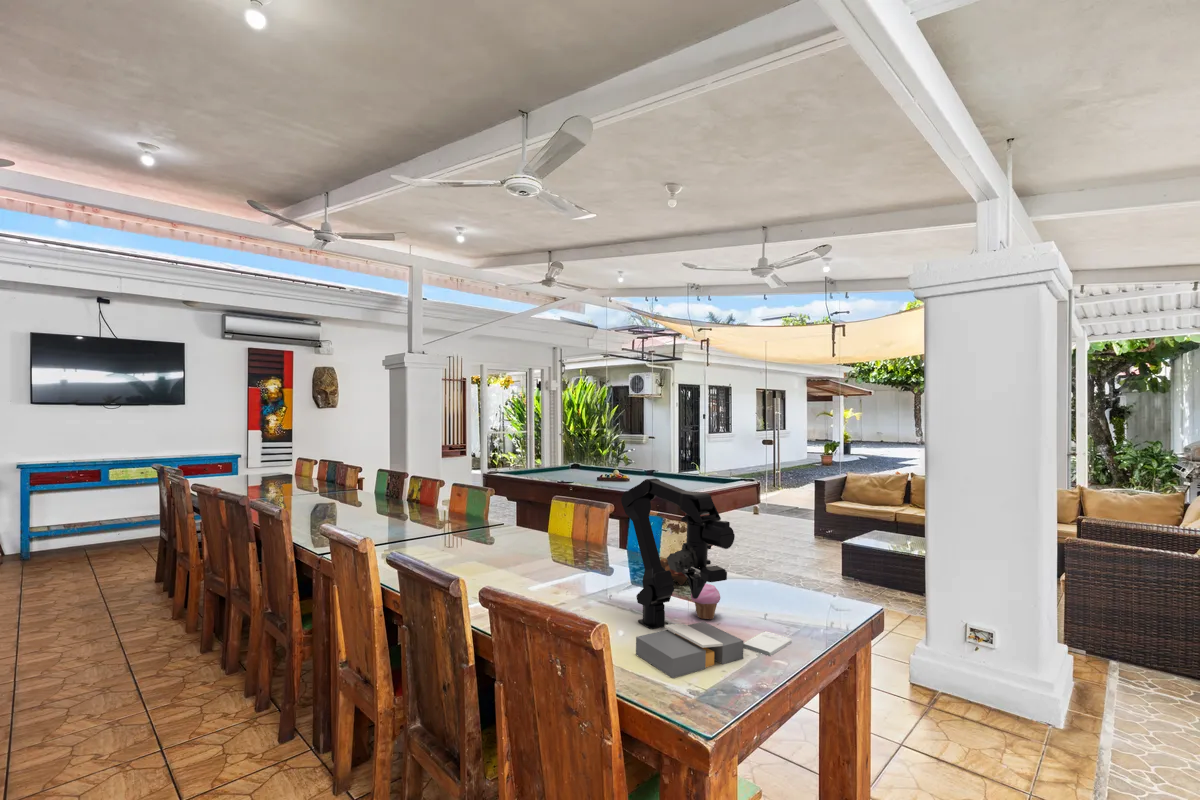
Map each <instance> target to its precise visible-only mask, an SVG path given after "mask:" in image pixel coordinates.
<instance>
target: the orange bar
mask: <svg viewBox="0 0 1200 800" xmlns="http://www.w3.org/2000/svg"><path fill="white" fill-rule="evenodd" d="M675 634H676V633H675ZM676 635H678V634H676ZM678 636H680V635H678ZM680 637H682V636H680ZM682 638H684V637H682ZM684 639H685V638H684ZM686 640H687V639H686ZM688 641H689V640H688ZM689 642H691V641H689ZM691 643H693V642H691ZM693 644H695V643H693ZM695 645H697V644H695ZM697 646H698V645H697ZM699 647H700V646H699ZM700 648H702V647H700ZM702 649H704V650H706V662H705V668H707V667H712V666H714V665H715V660H714V651H712V650H710V649H708V648H707V647H705V648H702Z"/></svg>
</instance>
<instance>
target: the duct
mask: <svg viewBox="0 0 1200 800" xmlns="http://www.w3.org/2000/svg"><path fill="white" fill-rule="evenodd" d="M686 625H687V626H689V627H691V628H693V629H695V630H697V631H699V632H701V633H703V634H705V635H707V636H709V637H711V638H713V639H715V640H717V641H719V642H721V643H723V646H717V647H707V648H708V649H710V650H712V651H714V661H716V662H717V663H720V664H721V665H724V664H725V665H726V664H728V663H731V662H736V661H739V660H742V659H744V648H743V644H744V642H745V641H744V640H743V639H741V638H739V637H737V636H735V635H733V634H731V633H729V632H727V631H726V630H725V631H724V630H723V629H721V628H719V627H717V626H714V625H712V624H710V623H708V622H706V621H700V622H694V623H691V624H686ZM635 655H636V656H637V655H638V656H637V657H639V658H641V659H642V660H643V661H645V662H647V663H648V664H650V665H651V664H652V665H651V666H653V667H655V668H656V669H658V670H659V671H661V672H662V673H664V674H666V675H667V676H668V677H670V678H672V679H674V678H677V677H681V676H685V675H688V674H692V673H695V672H701V671H703V670H706V667H705V662H706V650H704V649H702V648H700V647H699V646H697V645H695V644H693V643H691V642H689V641H688V640H686V639H684V638H682V637H680V636H678V635H676V634H675V633H674V632H673V631H671V630H669V629H665V630H661V631H660V630H659V631H656V632H652V633H647V634H642V635H637V636H636V637H635Z"/></svg>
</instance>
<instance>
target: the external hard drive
mask: <svg viewBox="0 0 1200 800" xmlns="http://www.w3.org/2000/svg"><path fill="white" fill-rule="evenodd" d="M790 643H791V644H792V643H793V640H792V638H790V637H786V636H783V635H780V634H777V633H773V632H769V631H766V630H765V631H762V632H761V633H759V634H757V635H755V636H753V637H752V638H750V639H748V640H746V641H744V644H743V649H746V650H749V651H753V652H755V653H758V654H761V653H762V654H761V655H765V656H767V655H768V657H772V656H774V655H775V654H777V653H778V652H780V651H782V650H783V649H785V648H786V647H787V645H788V646H790V645H791V644H790ZM782 648H783V649H782ZM779 650H780V651H779ZM774 653H775V654H774ZM771 655H772V656H771Z"/></svg>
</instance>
